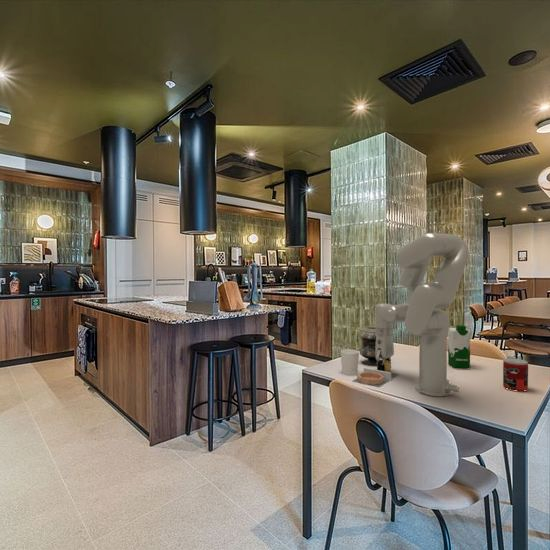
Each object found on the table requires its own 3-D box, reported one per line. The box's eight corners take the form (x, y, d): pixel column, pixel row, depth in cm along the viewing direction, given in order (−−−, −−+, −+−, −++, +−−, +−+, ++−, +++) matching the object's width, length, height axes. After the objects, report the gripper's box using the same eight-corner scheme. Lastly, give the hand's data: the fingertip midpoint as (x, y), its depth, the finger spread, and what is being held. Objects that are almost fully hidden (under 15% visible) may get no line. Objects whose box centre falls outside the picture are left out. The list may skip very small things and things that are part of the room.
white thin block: (391, 379, 146) (391, 372, 146) (390, 380, 145) (390, 373, 145) (364, 374, 153) (364, 367, 153) (363, 374, 153) (363, 368, 153)
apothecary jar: (390, 364, 170) (390, 327, 169) (374, 368, 163) (374, 330, 162) (370, 359, 180) (370, 324, 179) (354, 363, 173) (354, 327, 172)
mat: (399, 374, 153) (399, 374, 153) (379, 388, 137) (379, 387, 137) (374, 369, 161) (374, 369, 161) (351, 382, 144) (351, 381, 144)
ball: (393, 372, 155) (393, 359, 155) (388, 376, 151) (387, 362, 151) (380, 370, 159) (380, 357, 159) (374, 373, 155) (374, 360, 154)
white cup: (359, 376, 151) (359, 353, 151) (340, 375, 153) (340, 353, 153) (358, 371, 159) (358, 349, 159) (340, 370, 161) (340, 349, 160)
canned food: (498, 385, 139) (499, 358, 139) (519, 385, 139) (519, 358, 139) (511, 392, 132) (511, 363, 132) (532, 392, 132) (533, 363, 131)
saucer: (387, 380, 145) (387, 375, 145) (376, 386, 137) (376, 381, 137) (364, 375, 151) (364, 370, 151) (353, 381, 144) (353, 376, 144)
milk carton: (453, 369, 161) (453, 326, 161) (445, 364, 170) (445, 323, 170) (472, 369, 161) (473, 326, 160) (464, 364, 170) (464, 323, 169)
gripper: (384, 335, 146) (384, 378, 146) (399, 329, 159) (399, 368, 159) (367, 333, 150) (367, 374, 151) (383, 327, 164) (383, 366, 164)
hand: (384, 371), depth 155 cm, fingers closed on ball, 5 cm apart
